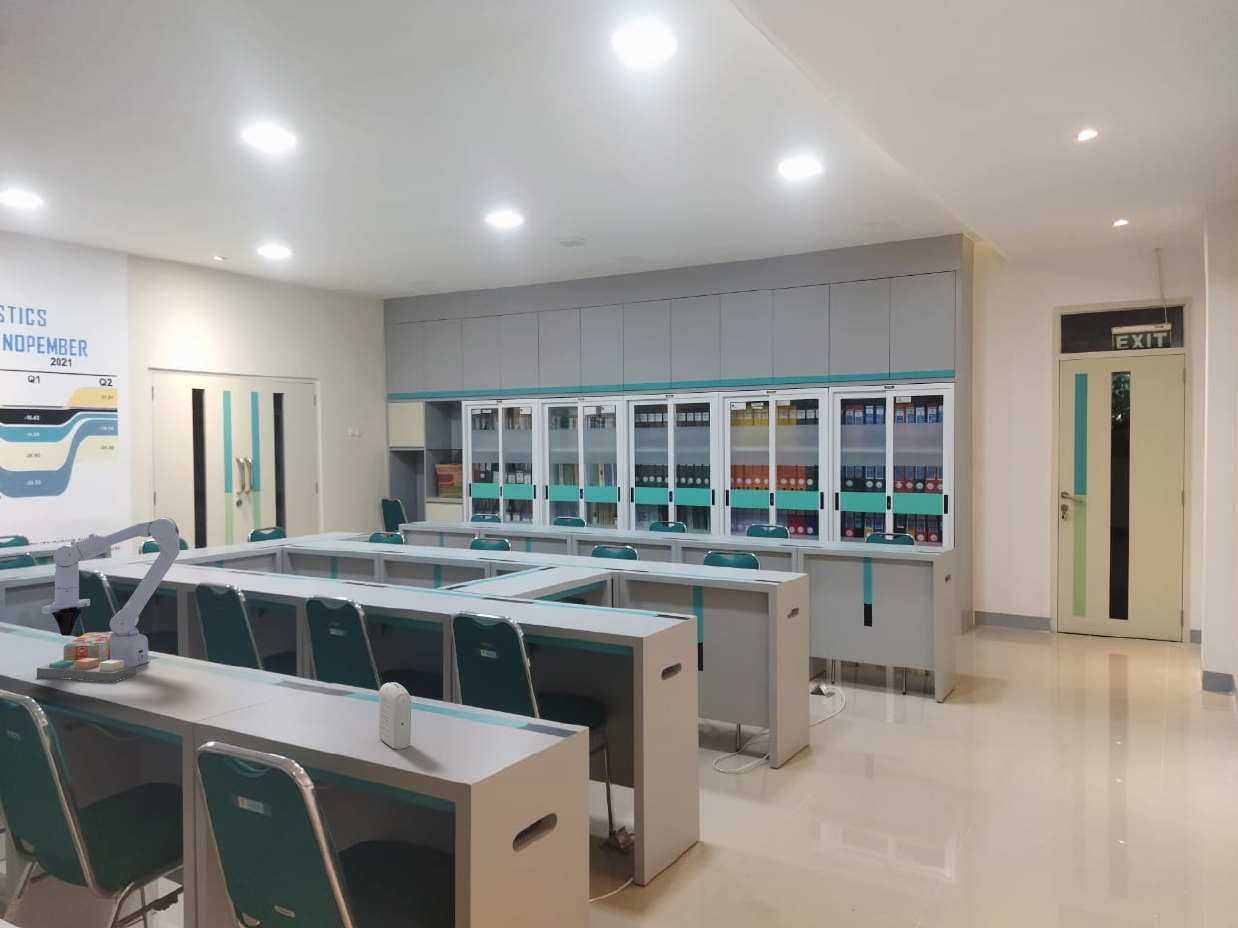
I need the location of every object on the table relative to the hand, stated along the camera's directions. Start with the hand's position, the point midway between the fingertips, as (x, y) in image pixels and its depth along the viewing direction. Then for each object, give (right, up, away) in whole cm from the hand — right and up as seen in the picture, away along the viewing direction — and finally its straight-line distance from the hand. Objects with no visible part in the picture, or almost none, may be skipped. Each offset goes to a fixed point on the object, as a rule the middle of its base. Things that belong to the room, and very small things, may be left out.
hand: (66, 635), depth 240 cm
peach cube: (+11, -9, -9) cm, 17 cm away
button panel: (+11, -9, -9) cm, 17 cm away
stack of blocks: (-4, -6, +10) cm, 13 cm away
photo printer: (+110, -10, -62) cm, 127 cm away
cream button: (+19, -10, -10) cm, 24 cm away
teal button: (+4, -10, -7) cm, 13 cm away
